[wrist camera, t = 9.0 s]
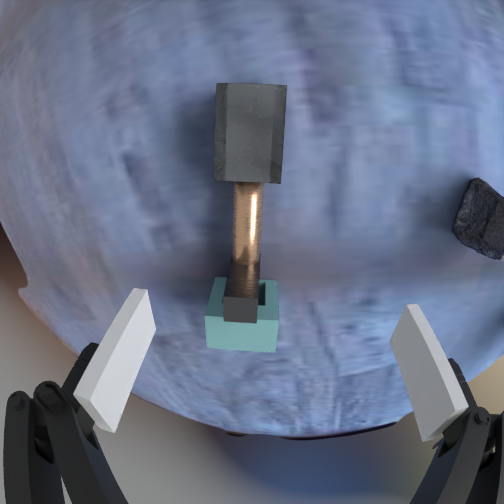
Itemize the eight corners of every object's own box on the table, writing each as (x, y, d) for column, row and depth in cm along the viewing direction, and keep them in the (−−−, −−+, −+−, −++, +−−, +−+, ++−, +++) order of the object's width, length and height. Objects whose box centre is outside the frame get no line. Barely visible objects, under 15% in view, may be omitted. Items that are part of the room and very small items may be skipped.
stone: (435, 216, 33) (471, 160, 26) (469, 228, 35) (501, 181, 28) (477, 284, 25) (528, 223, 18) (505, 286, 27) (547, 237, 20)
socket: (215, 276, 37) (204, 315, 30) (277, 280, 37) (279, 320, 30) (216, 306, 39) (207, 347, 32) (273, 310, 39) (274, 352, 32)
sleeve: (225, 89, 26) (216, 83, 21) (282, 91, 26) (286, 85, 21) (223, 168, 30) (214, 180, 25) (277, 171, 30) (280, 183, 25)
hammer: (235, 148, 28) (223, 161, 20) (266, 149, 28) (267, 162, 20) (232, 305, 37) (224, 355, 29) (256, 307, 37) (254, 357, 29)
